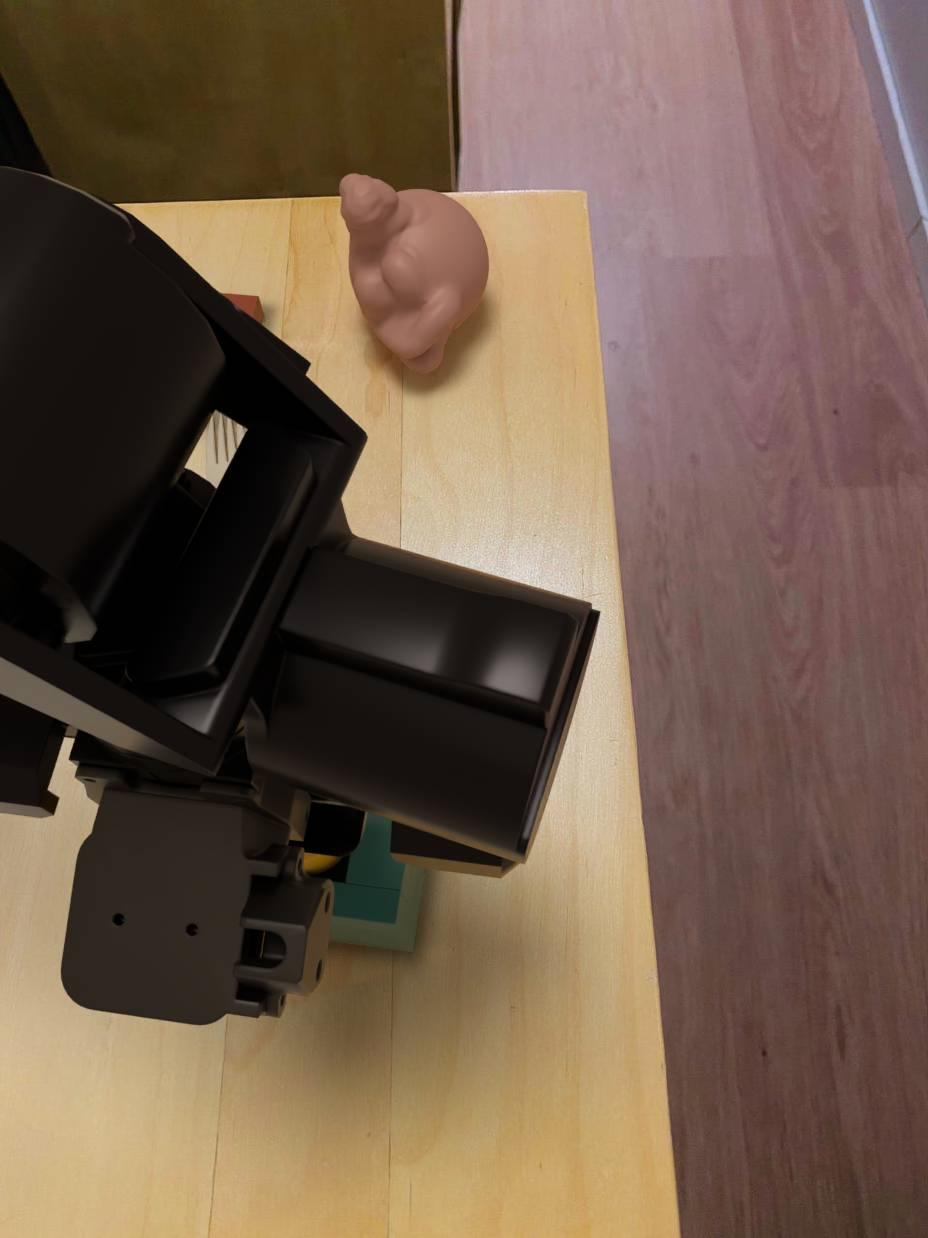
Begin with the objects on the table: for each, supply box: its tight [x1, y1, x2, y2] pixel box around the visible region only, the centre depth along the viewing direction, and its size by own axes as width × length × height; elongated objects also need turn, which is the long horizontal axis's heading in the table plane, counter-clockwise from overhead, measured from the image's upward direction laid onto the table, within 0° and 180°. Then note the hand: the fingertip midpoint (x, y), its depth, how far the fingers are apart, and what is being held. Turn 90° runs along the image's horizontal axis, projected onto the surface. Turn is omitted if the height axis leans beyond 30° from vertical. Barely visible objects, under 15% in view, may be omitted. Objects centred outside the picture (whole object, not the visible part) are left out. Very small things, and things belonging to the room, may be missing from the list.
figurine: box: [338, 173, 490, 374], centre depth 61 cm, size 9×11×12 cm
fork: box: [205, 413, 245, 489], centre depth 59 cm, size 3×21×3 cm, turn 13°
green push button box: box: [309, 812, 427, 953], centre depth 47 cm, size 9×7×10 cm
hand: (291, 806), depth 40 cm, fingers closed
